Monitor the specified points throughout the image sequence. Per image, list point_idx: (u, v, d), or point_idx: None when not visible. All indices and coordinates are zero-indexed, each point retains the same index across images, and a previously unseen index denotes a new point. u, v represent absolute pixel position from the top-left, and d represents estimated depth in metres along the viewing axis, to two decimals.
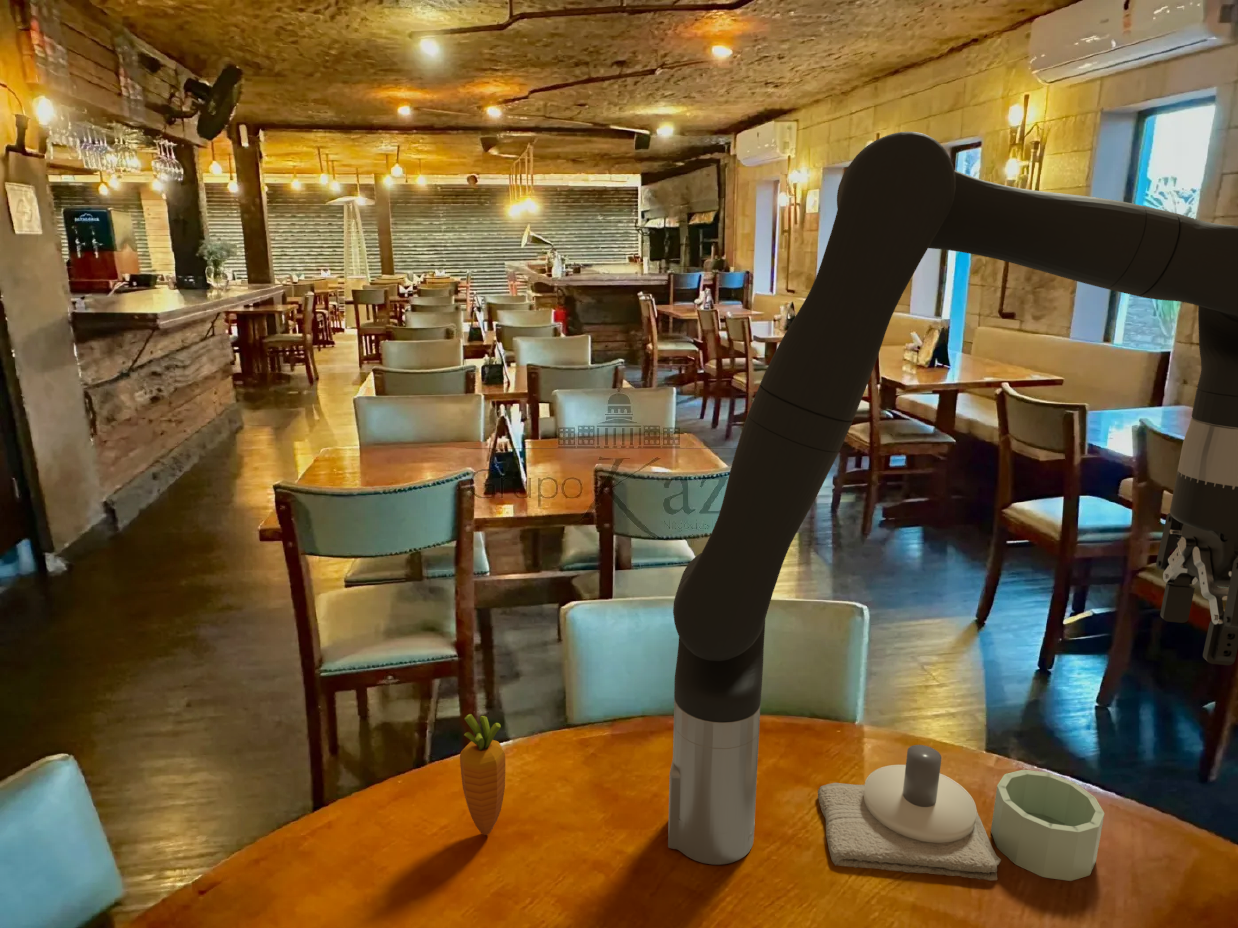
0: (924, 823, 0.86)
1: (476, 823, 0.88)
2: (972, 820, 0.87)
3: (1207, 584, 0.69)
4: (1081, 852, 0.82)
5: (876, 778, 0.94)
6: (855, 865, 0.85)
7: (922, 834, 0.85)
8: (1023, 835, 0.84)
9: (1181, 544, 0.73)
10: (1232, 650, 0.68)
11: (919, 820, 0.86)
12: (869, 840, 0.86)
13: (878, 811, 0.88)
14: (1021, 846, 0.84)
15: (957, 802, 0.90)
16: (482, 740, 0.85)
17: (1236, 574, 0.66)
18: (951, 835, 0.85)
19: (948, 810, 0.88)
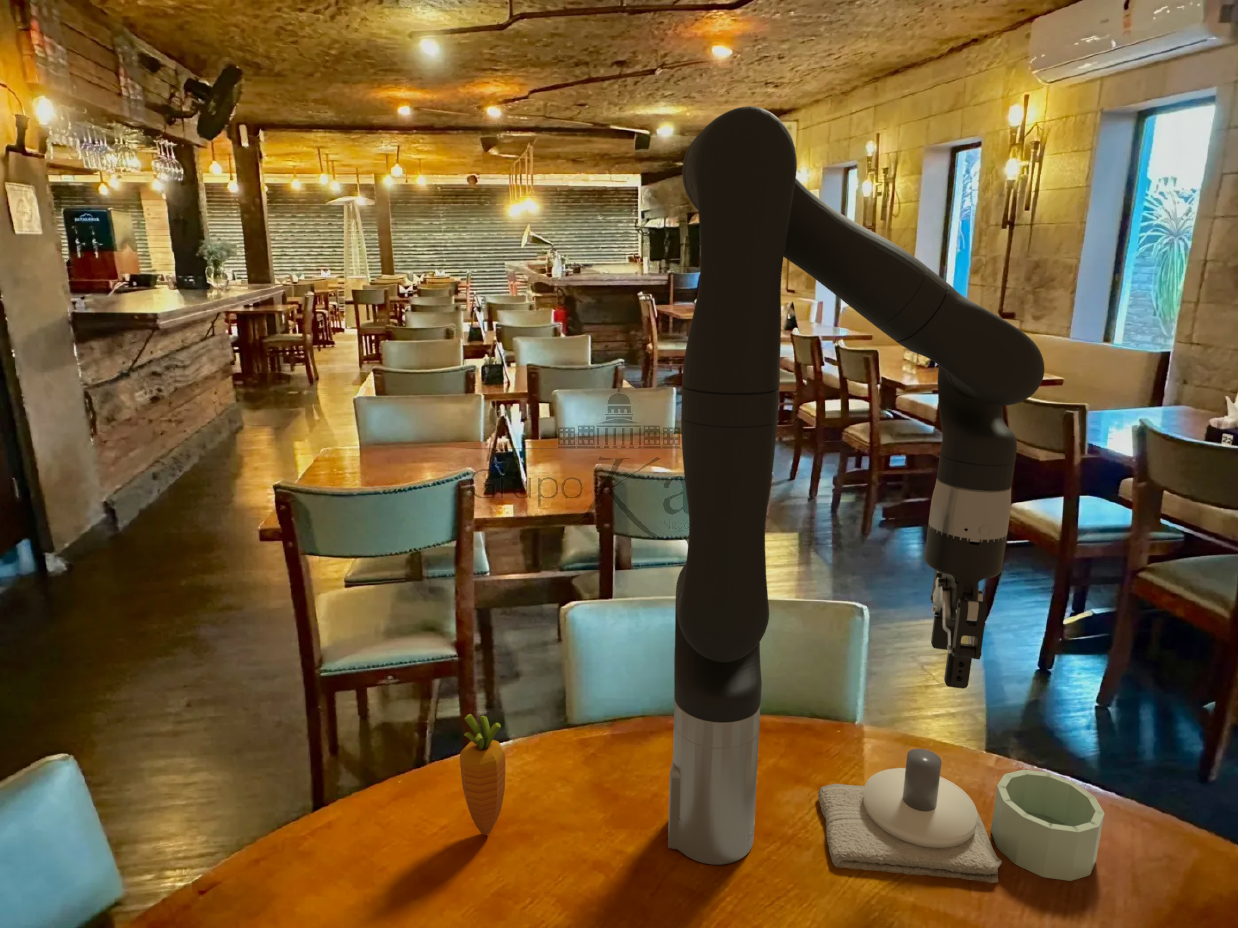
0: (924, 828, 0.85)
1: (476, 823, 0.88)
2: (972, 825, 0.86)
3: (945, 619, 0.81)
4: (1081, 852, 0.82)
5: (876, 782, 0.93)
6: (855, 866, 0.84)
7: (922, 839, 0.84)
8: (1023, 835, 0.84)
9: (936, 583, 0.85)
10: (963, 676, 0.80)
11: (919, 825, 0.86)
12: (869, 841, 0.86)
13: (877, 815, 0.87)
14: (1021, 846, 0.84)
15: (958, 806, 0.89)
16: (482, 740, 0.85)
17: (958, 612, 0.78)
18: (951, 840, 0.84)
19: (948, 814, 0.87)
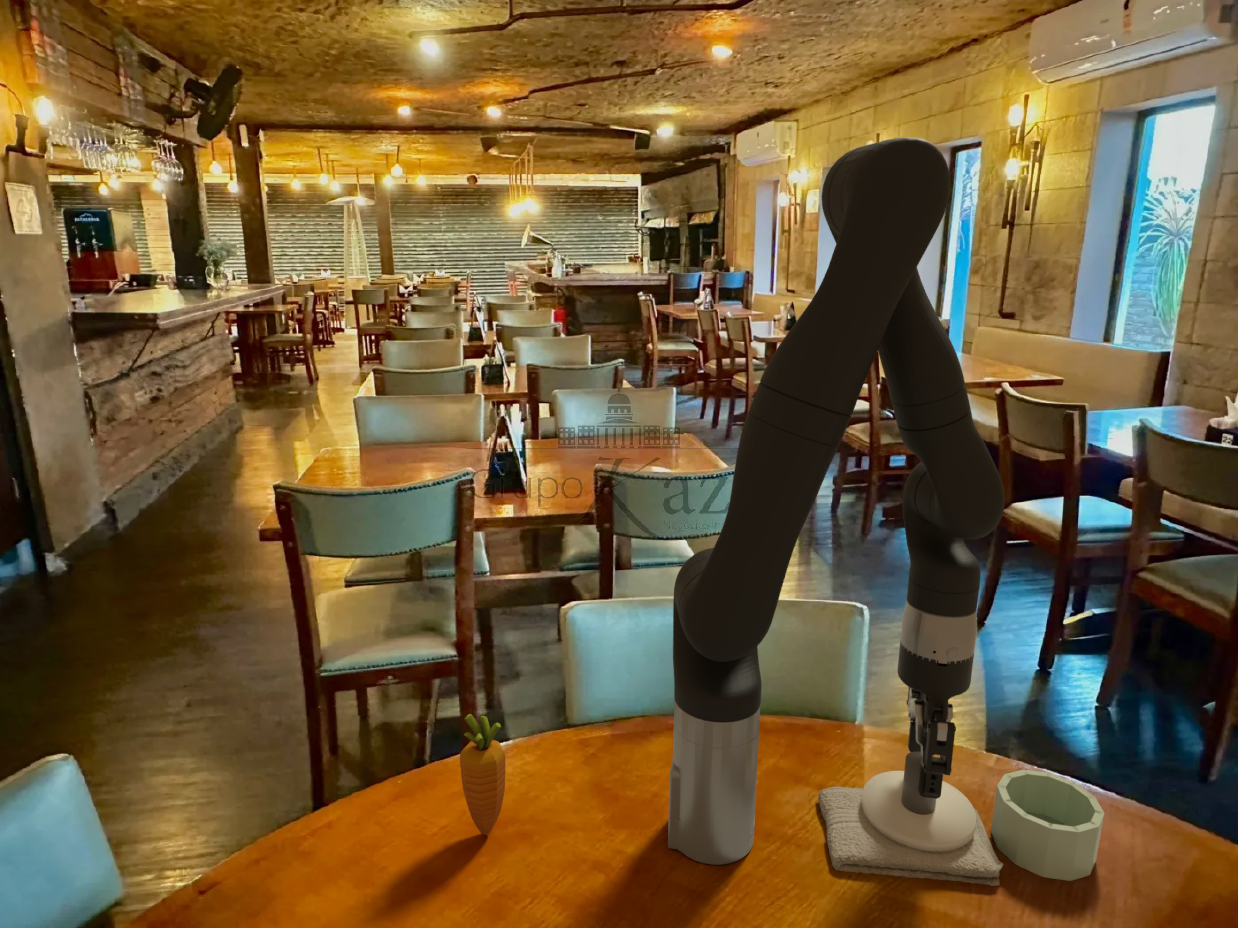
0: (923, 831, 0.85)
1: (476, 823, 0.88)
2: (971, 828, 0.85)
3: (917, 733, 0.86)
4: (1081, 852, 0.82)
5: (874, 785, 0.92)
6: (856, 870, 0.84)
7: (920, 843, 0.84)
8: (1023, 835, 0.84)
9: (910, 693, 0.90)
10: (935, 788, 0.85)
11: (918, 828, 0.85)
12: (870, 844, 0.85)
13: (876, 819, 0.87)
14: (1021, 846, 0.84)
15: (957, 809, 0.88)
16: (482, 740, 0.85)
17: (928, 732, 0.82)
18: (950, 844, 0.84)
19: (947, 818, 0.87)
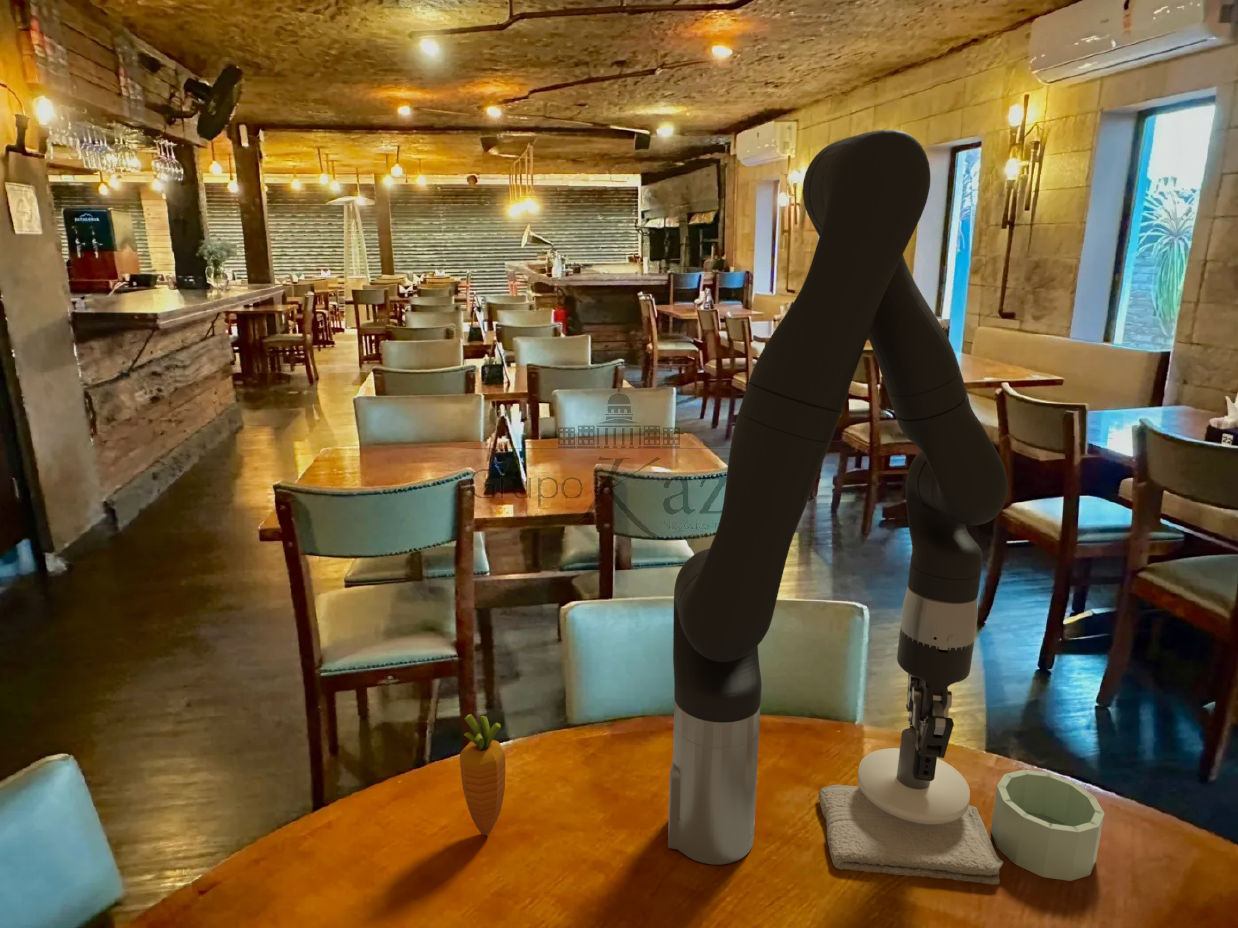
0: (918, 805, 0.86)
1: (476, 823, 0.88)
2: (965, 802, 0.87)
3: (914, 721, 0.86)
4: (1081, 852, 0.82)
5: (870, 761, 0.94)
6: (856, 868, 0.84)
7: (915, 816, 0.85)
8: (1023, 835, 0.84)
9: (909, 682, 0.89)
10: (929, 770, 0.87)
11: (913, 802, 0.87)
12: (870, 842, 0.85)
13: (872, 793, 0.88)
14: (1021, 846, 0.84)
15: (951, 785, 0.90)
16: (482, 740, 0.85)
17: (926, 726, 0.83)
18: (944, 817, 0.85)
19: (942, 792, 0.88)
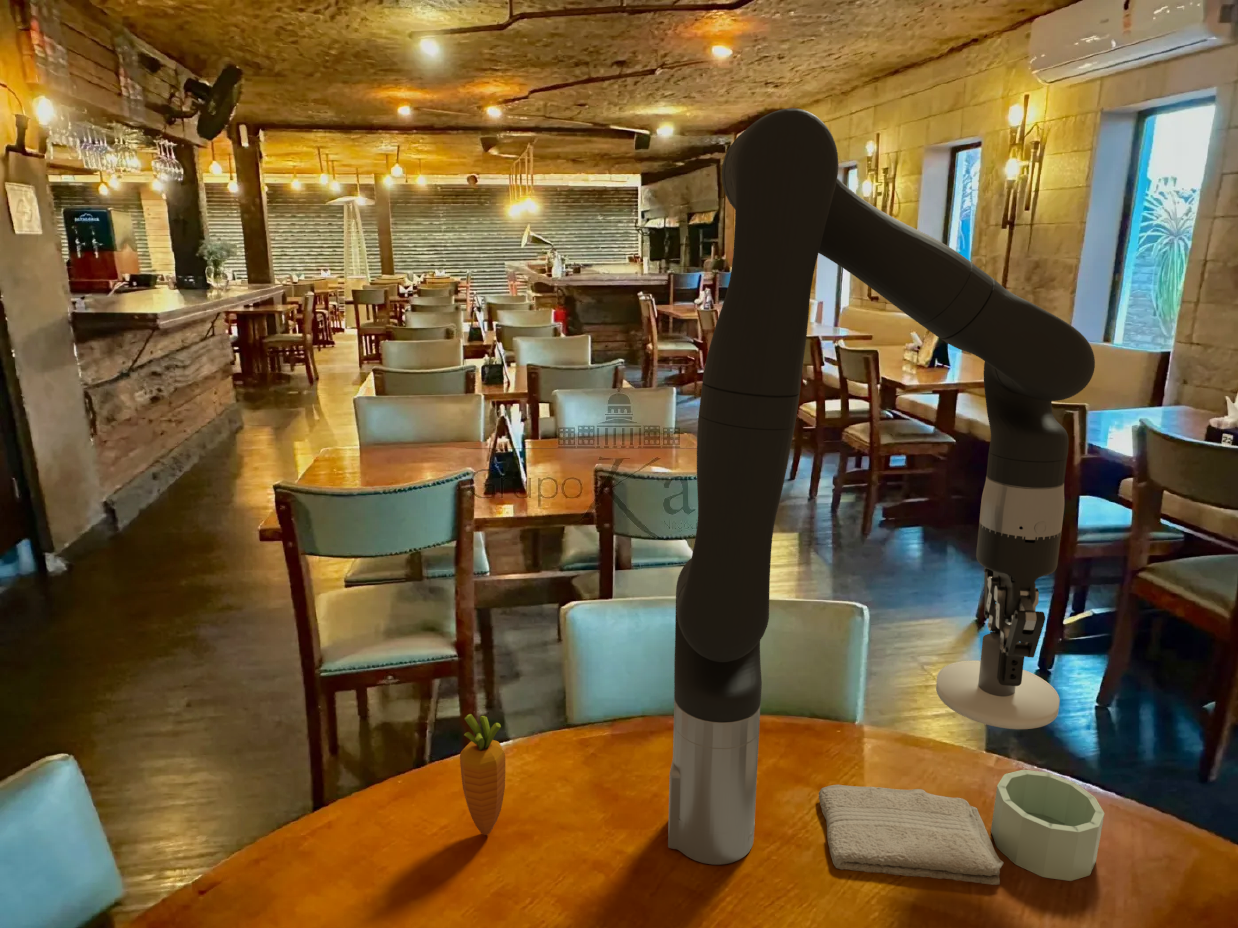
0: (1006, 710, 0.81)
1: (476, 823, 0.88)
2: (1056, 706, 0.82)
3: (999, 621, 0.81)
4: (1081, 852, 0.82)
5: (948, 673, 0.89)
6: (856, 868, 0.84)
7: (1004, 721, 0.80)
8: (1023, 835, 0.84)
9: (989, 583, 0.84)
10: (1016, 674, 0.82)
11: (1000, 708, 0.82)
12: (870, 842, 0.85)
13: (955, 701, 0.83)
14: (1021, 846, 0.84)
15: (1038, 691, 0.85)
16: (482, 740, 0.85)
17: (1014, 622, 0.78)
18: (1035, 721, 0.80)
19: (1029, 698, 0.83)
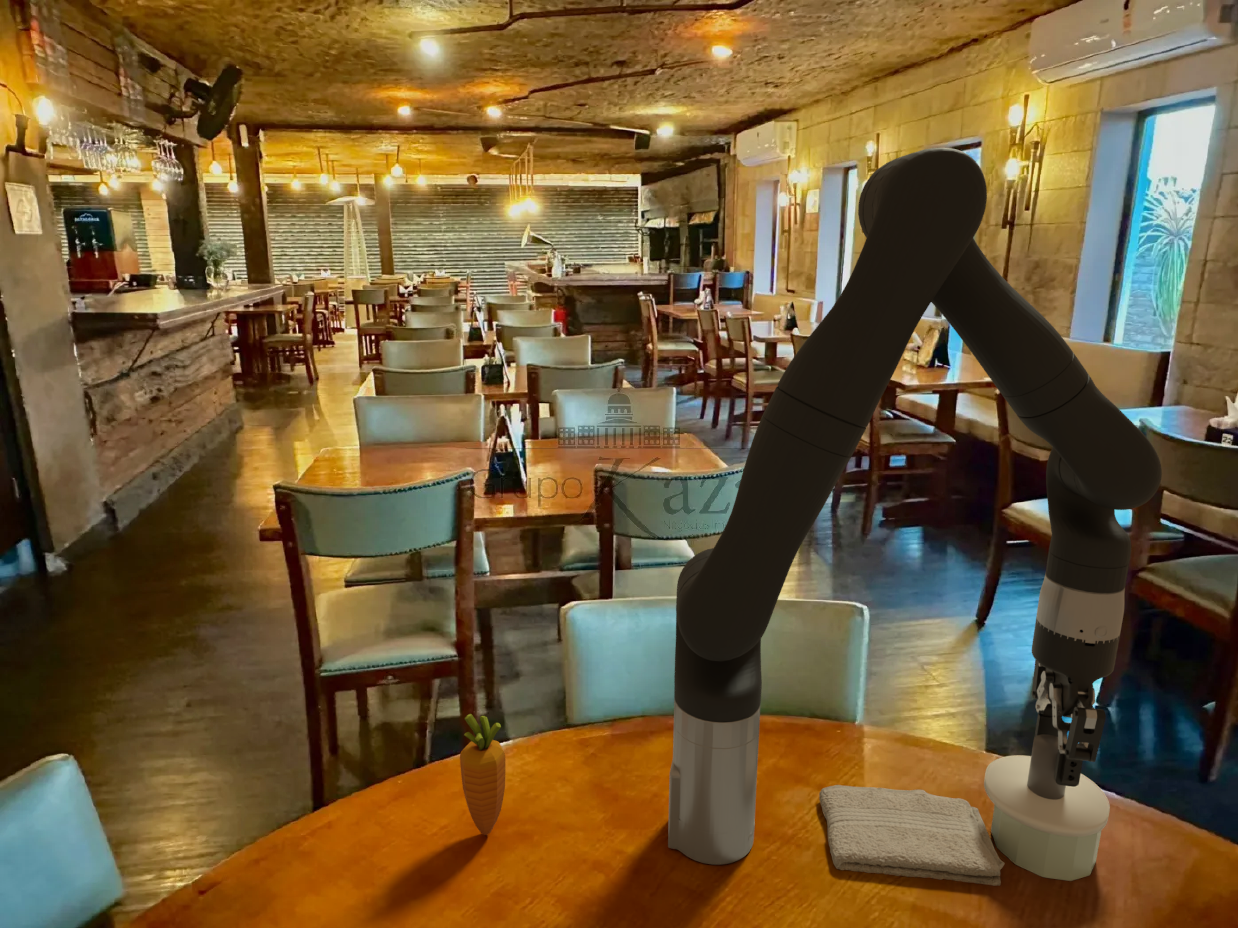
0: (1057, 816, 0.82)
1: (476, 823, 0.88)
2: (1107, 813, 0.82)
3: (1056, 719, 0.81)
4: (1081, 852, 0.82)
5: (996, 770, 0.89)
6: (857, 868, 0.84)
7: (1056, 828, 0.81)
8: (1023, 835, 0.84)
9: (1043, 677, 0.85)
10: (1075, 775, 0.81)
11: (1051, 813, 0.82)
12: (871, 843, 0.85)
13: (1005, 804, 0.84)
14: (1021, 846, 0.84)
15: (1087, 794, 0.85)
16: (482, 740, 0.85)
17: (1075, 720, 0.77)
18: (1087, 829, 0.81)
19: (1079, 803, 0.84)
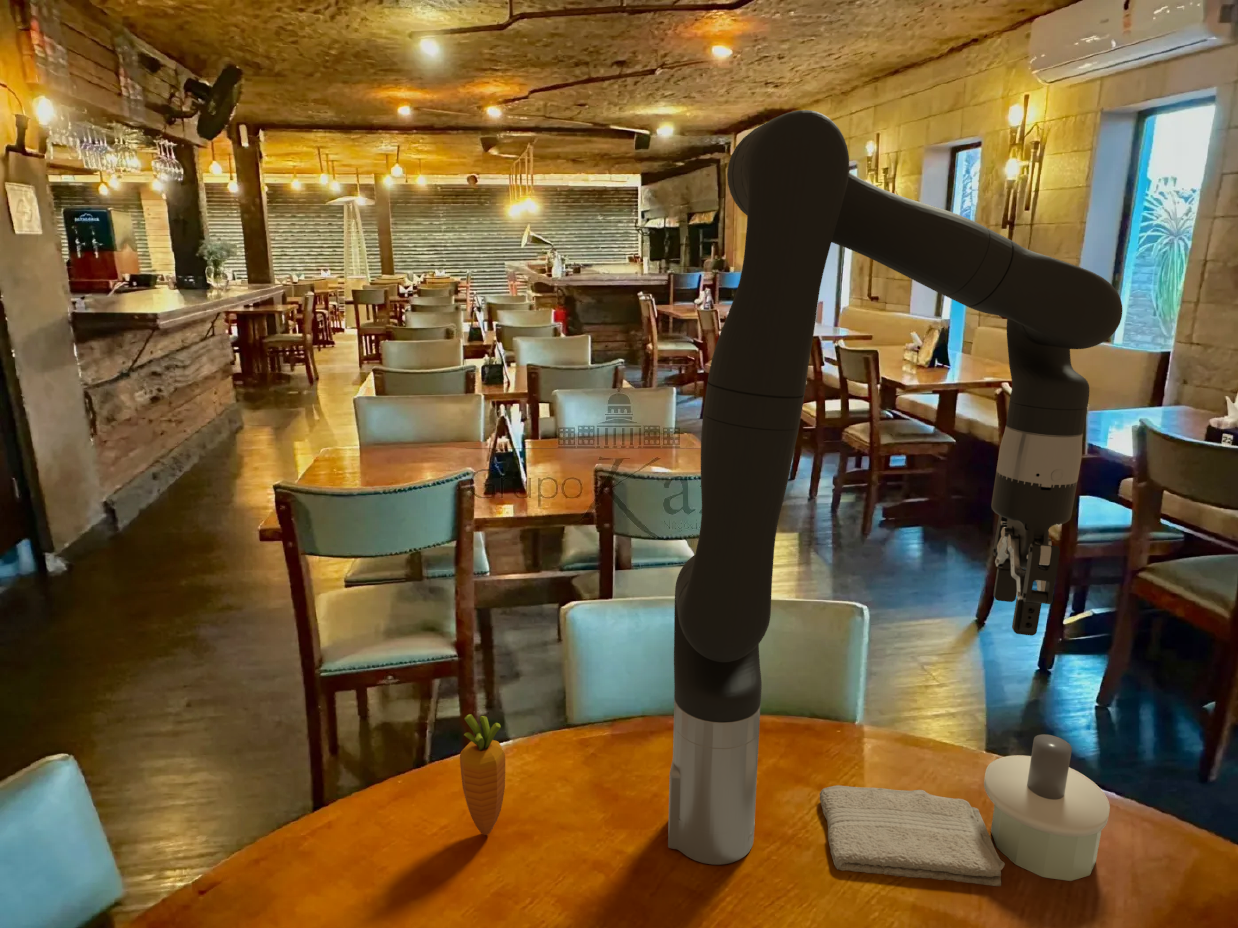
0: (1057, 816, 0.82)
1: (476, 823, 0.88)
2: (1107, 813, 0.82)
3: (1014, 566, 0.81)
4: (1081, 852, 0.82)
5: (996, 770, 0.89)
6: (857, 869, 0.84)
7: (1056, 828, 0.81)
8: (1023, 835, 0.84)
9: (1002, 533, 0.86)
10: (1032, 622, 0.81)
11: (1051, 813, 0.82)
12: (871, 843, 0.85)
13: (1005, 804, 0.84)
14: (1021, 846, 0.84)
15: (1087, 794, 0.85)
16: (482, 740, 0.85)
17: (1030, 557, 0.78)
18: (1087, 829, 0.81)
19: (1079, 803, 0.84)
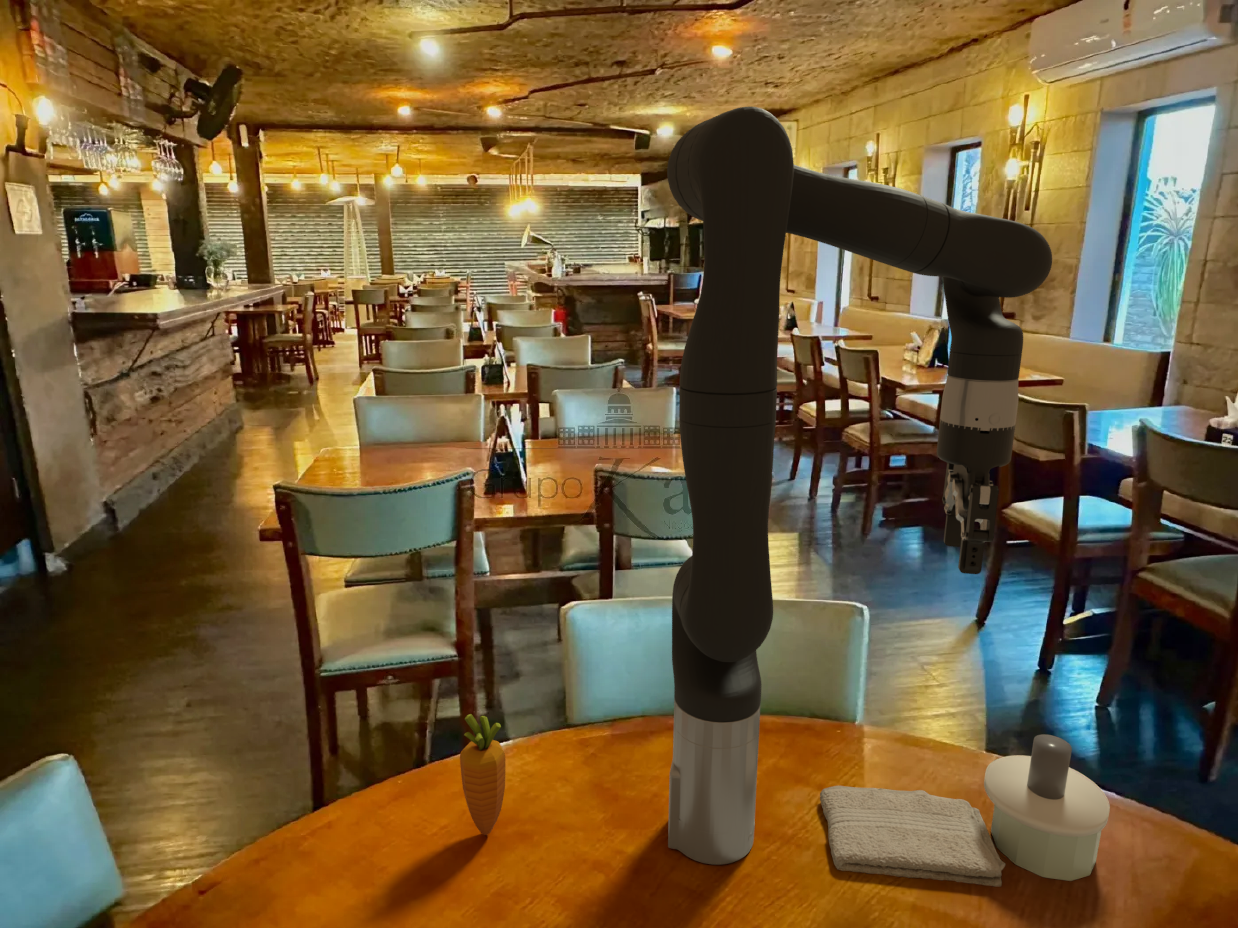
0: (1057, 816, 0.82)
1: (476, 823, 0.88)
2: (1107, 813, 0.82)
3: (958, 508, 0.85)
4: (1081, 852, 0.82)
5: (996, 770, 0.89)
6: (858, 869, 0.84)
7: (1056, 828, 0.81)
8: (1023, 835, 0.84)
9: (948, 479, 0.90)
10: (976, 561, 0.84)
11: (1051, 813, 0.82)
12: (871, 843, 0.85)
13: (1005, 804, 0.84)
14: (1021, 846, 0.84)
15: (1087, 794, 0.85)
16: (482, 740, 0.85)
17: (971, 497, 0.82)
18: (1087, 829, 0.81)
19: (1079, 803, 0.84)
